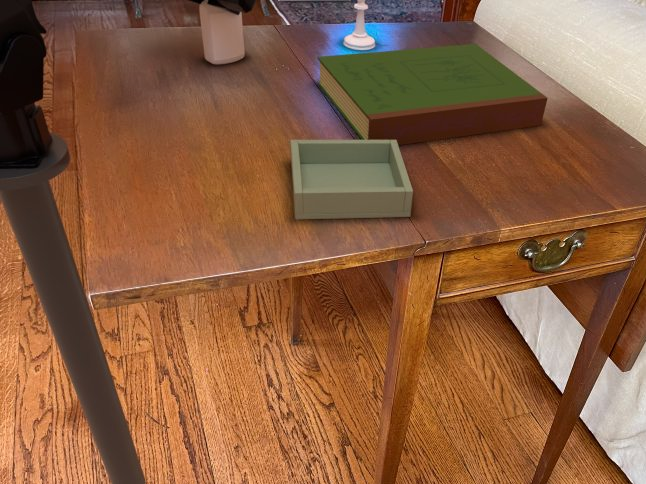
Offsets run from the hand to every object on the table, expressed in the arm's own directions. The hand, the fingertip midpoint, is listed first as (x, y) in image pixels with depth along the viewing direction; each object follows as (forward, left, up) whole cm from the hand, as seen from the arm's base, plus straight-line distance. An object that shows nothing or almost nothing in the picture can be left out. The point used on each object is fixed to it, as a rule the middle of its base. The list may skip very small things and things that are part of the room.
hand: (227, 8), depth 87 cm
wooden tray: (+13, -36, -7) cm, 39 cm away
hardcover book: (+26, -15, -7) cm, 31 cm away
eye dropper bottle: (-1, -1, -7) cm, 7 cm away
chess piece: (+19, +6, -7) cm, 21 cm away
